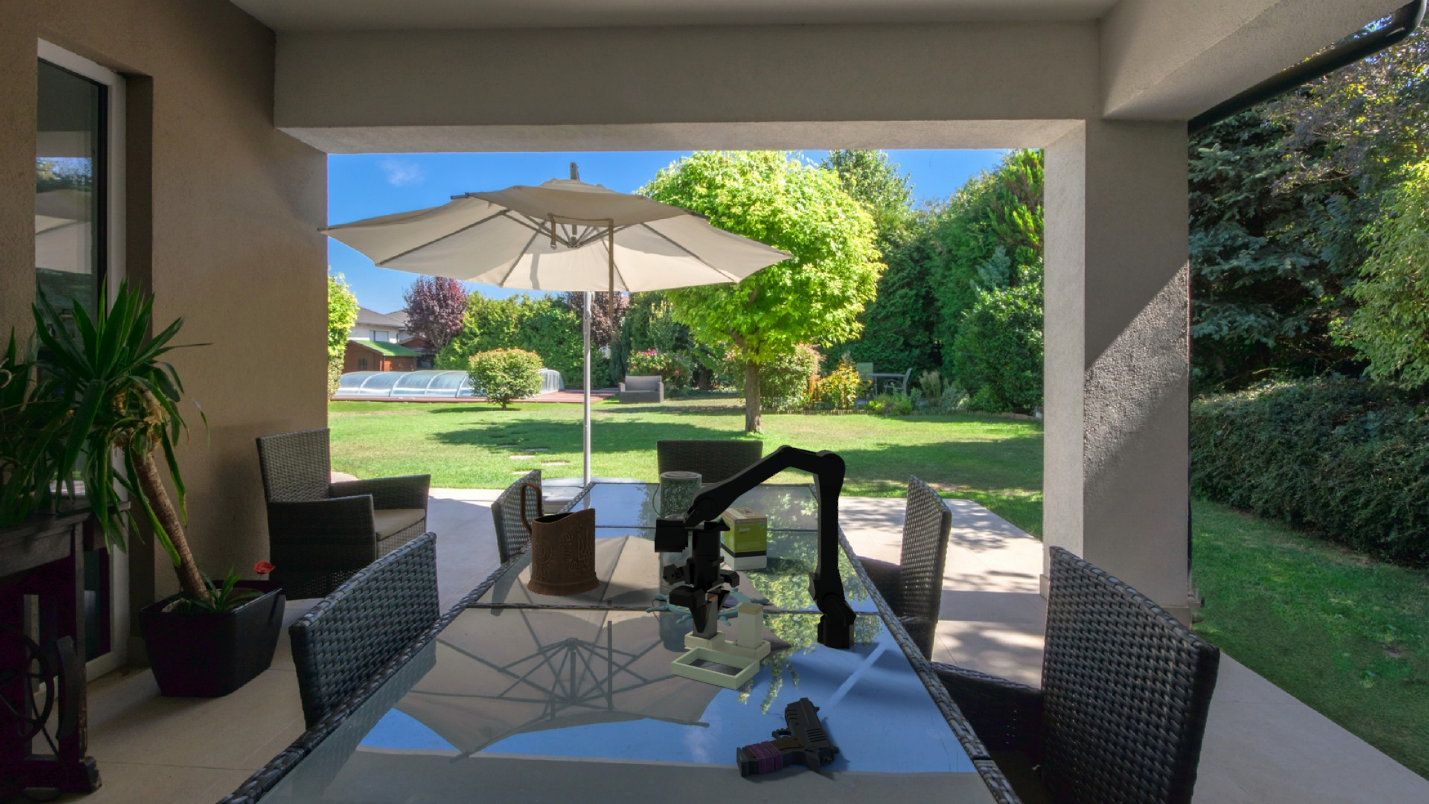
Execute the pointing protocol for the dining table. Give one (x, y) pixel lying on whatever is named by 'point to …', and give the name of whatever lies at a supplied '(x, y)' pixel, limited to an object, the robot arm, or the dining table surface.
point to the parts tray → (712, 677)
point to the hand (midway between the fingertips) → (705, 629)
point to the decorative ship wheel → (732, 601)
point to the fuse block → (727, 646)
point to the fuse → (750, 625)
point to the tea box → (744, 539)
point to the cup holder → (560, 549)
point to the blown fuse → (709, 620)
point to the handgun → (790, 744)
